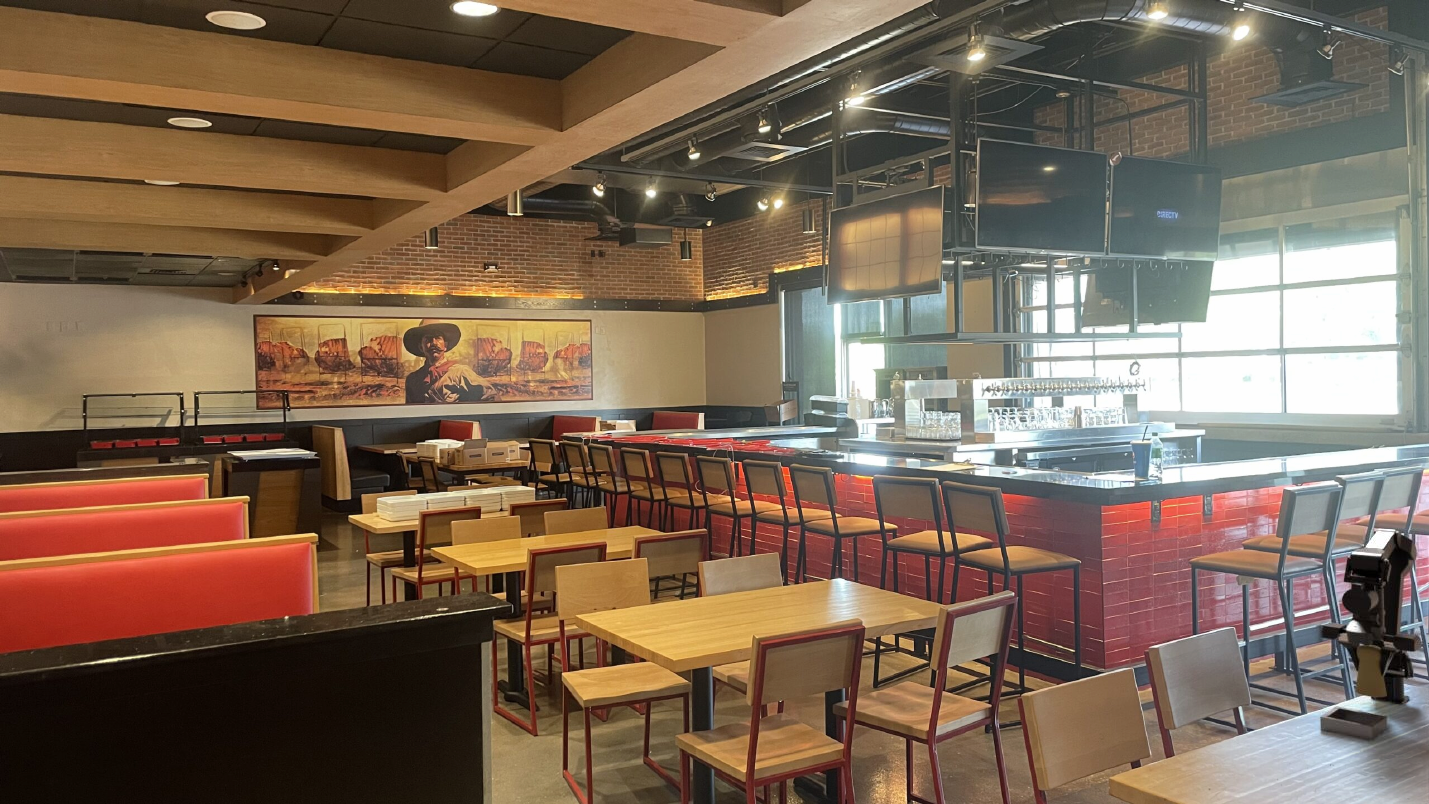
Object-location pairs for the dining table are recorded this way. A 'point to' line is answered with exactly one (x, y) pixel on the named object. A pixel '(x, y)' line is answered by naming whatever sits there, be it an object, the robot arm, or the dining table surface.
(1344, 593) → the robot arm
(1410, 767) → the dining table surface
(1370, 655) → the cork
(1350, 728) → the socket frame
